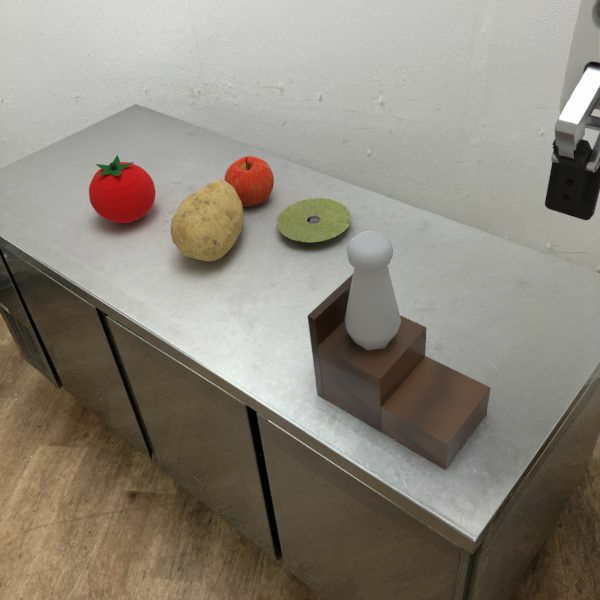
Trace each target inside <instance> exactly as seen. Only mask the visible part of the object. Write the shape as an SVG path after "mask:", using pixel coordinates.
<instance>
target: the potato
mask: <svg viewBox="0 0 600 600" xmlns="http://www.w3.org/2000/svg"><path fill="white" fill-rule="evenodd" d="M224 180H225V179H215V180H212V181H211V182H209V183H208V184H206V185H204V186H203V187H202V188H200V189H199V190H196V191H194V192H192V193H190V194H188V195H187V196H186V197H185V198H184V199H183V200H182V202H181V203H180V204H179V206H178V208H177V210H176V212H175V213H174V215H173V216H172V218H171V222H170V235H171V240H172V243H173V244H174V246H175V247H176V248H177V250H179V252H180V253H182V254H183V255H185V256H186V257H187V258H191V259H194V260H198V261H203V262H215V261H218V260H220V259H222V258H223V257H224V256H226V254H228V252H229V251H230V250H231V249H232V247H234V245H235V244H236V242H237V239H238V238H239V236H240V235H241V232H242V229H243V227H244V221H245V213H244V206H243V205H242V202H241V200H240V198H239V197H238V195H237V193H236V191H235V189H234V188H233V187H232V186H231V185H230V184H229V183H227V182H226V181H224Z"/></svg>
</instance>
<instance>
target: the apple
mask: <svg viewBox="0 0 600 600" xmlns="http://www.w3.org/2000/svg"><path fill="white" fill-rule="evenodd" d="M223 180H224V181H226V182H227V183H229V184H230V185H231V186H232V187H233V188H234V189H235V191H236V193H237V195H238V197H239V198H240V200H241V202H242V207H254V206H258V205H261V204H263V203H265V202H266V201H267V200H268V199H269V197H270V195H271V194H272V191H273V189H274V186H275V185H274V184H275V177H274V173H273V171H272V168H271V166H270V164H269V163H268V162H267V161H266V160H264V159H262V158H260V157H258V156H254V155H246V156H243V157H241V158H238V159H237V160H234V162H232V163H231V164H230V165H229V167H228V168H227V169H226V171H225V173H224V179H223Z"/></svg>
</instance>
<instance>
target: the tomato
mask: <svg viewBox="0 0 600 600" xmlns="http://www.w3.org/2000/svg"><path fill="white" fill-rule="evenodd" d="M95 166H97V167H98V168H99V169H98V170H97V171H96V173H94V175H93V176H92V179H91V180H90V183H89V186H88V199H89V202H90V205H91V207H92V209H93V210H94V211H95V212H96V213H97V215H99V216H100V217H101V218H103V219H105V220H106V221H109V222H112V223H116V224H128V223H133V222H136V221H137V220H140V219H141V218H143V217H144V216H145V215H147V214H148V212H149V211H150V210H151V209H152V207H153V205H154V203H155V199H156V186H155V183H154V181H153V178H152V177H151V175H150V174H149V173H148V172H147V171H146V170H145V169H144V168H142V167H141V166H140V165H137V164H135V163H134V161H131V162H129V161H121V160H120V158H119V154H116V156H115V158H114V159H113V161H112V162H110V163H109V164H99V163H95Z"/></svg>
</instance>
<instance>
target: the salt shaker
mask: <svg viewBox="0 0 600 600" xmlns="http://www.w3.org/2000/svg"><path fill="white" fill-rule="evenodd" d="M346 254H347V259H348V263H349V264H350V266H351V267H353V272H352V274H353V277H352V283H351V288H350V294H349V299H348V304H347V310H346V315H345V324H346V329H347V332H348V334H349V335H350V336H351V338H352V339H353V341H354V342H355V343H356V344H358V345H360V346H361V347H363V348H364V349H366V350H375V349H382V348H385V347H386V346H387V344H388V343H389V342H390V340H391V339H392V338H393V337H394V336H395V335H396V334H397V332H398V329H399V327H400V324H401V318H400V315H401V314H400V310H399V306H398V302H397V298H396V295H395V290H394V287H393V282H392V278H391V274H390V270H389V265H390V263H391V261H392V259H393V255H394V248H393V244H392V241H391V239H390V237H388V236H386V235H385V234H384V233H382V232H379V231H375V230H366V231H365V230H364V231H362V232H358V233H357V234H355V235H354V236H352V238H350V239H349V242H348V244H347V249H346Z"/></svg>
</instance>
